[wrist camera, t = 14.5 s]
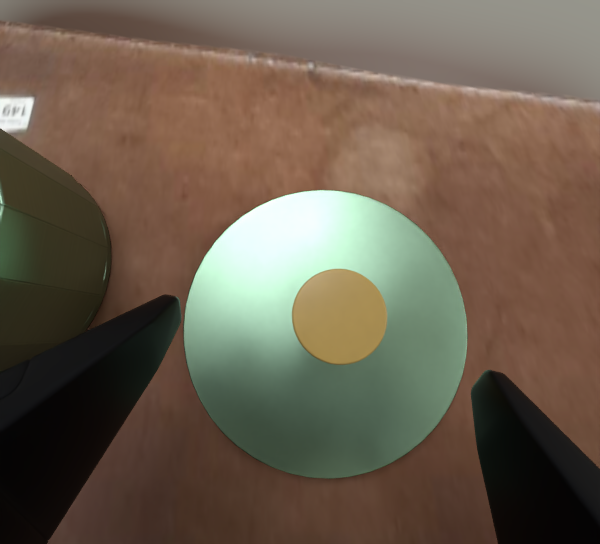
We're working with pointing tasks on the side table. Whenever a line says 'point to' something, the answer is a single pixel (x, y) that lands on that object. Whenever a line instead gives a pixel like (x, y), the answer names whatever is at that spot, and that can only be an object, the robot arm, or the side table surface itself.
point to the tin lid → (325, 334)
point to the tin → (46, 254)
